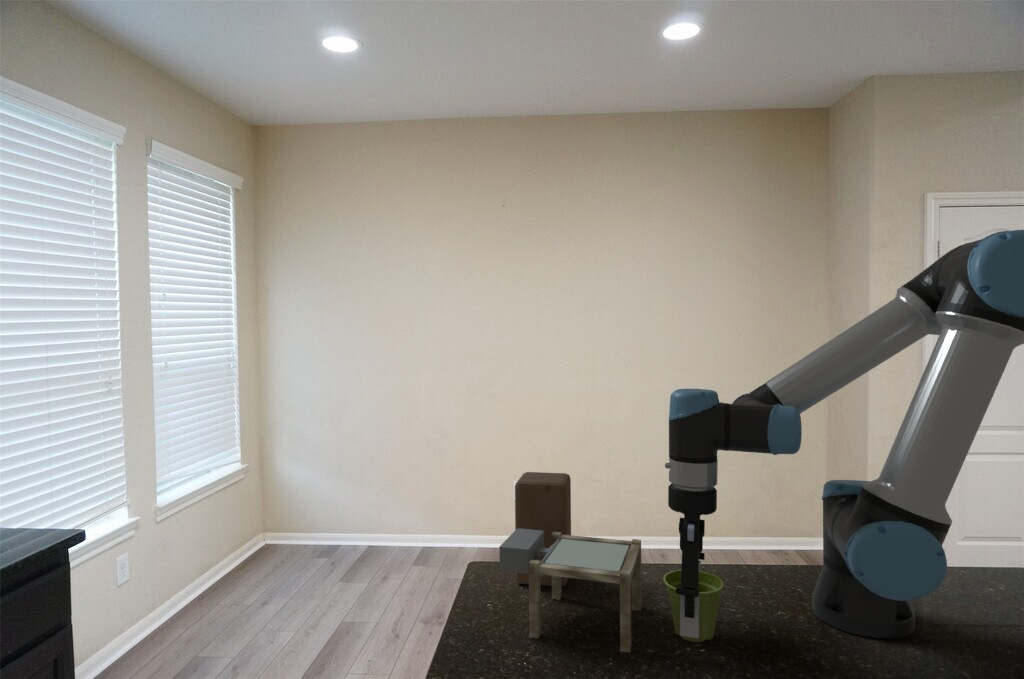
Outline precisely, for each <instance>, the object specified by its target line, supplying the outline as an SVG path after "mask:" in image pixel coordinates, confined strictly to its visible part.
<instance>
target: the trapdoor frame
mask: <svg viewBox="0 0 1024 679" xmlns="http://www.w3.org/2000/svg"><path fill="white" fill-rule="evenodd" d="M557 539H560V540H561V539H569V540H579V541H589V542H599V543H609V544H619V545H629V552H628V555H627V558H626V560H625V563H624V566H623V568H622V570H621V571H620V572H615V571H606V570H597V569H588V568H579V567H570V566H562V565H553V564H544V563H540V562H541V561H542V559H543V558H544V557H542V558H541V560H540V561H539V560H531V561H530V562H529V584H528V613H529V614H528V615H529V616H528V619H529V620H528V621H529V622H528V627H529V628H528V629H529V632H528V634H529V638H532V639H536V640H539V638H540V637H541V635H542V628H541V626H542V625H541V624H542V623H541V622H542V621H541V619H542V616H541V615H542V612H541V611H542V608H541V606H542V604H541V603H542V602H541V585H540V578H541V576H542V575H550V576H552V586H551V600H553V599H556V601H561V600H562V598H561V597H562V596H563V592H562V590H563V589H562V577H567V578H568V579H579V580H584V581H585V580H586V581H593V582H602V583H610V584H612V583H613V584H619V644H620V645H619V646H620V647H619V651H620V652H623V653H628V654H630V653H631V652H632V651H631V650H632V611H639V612H641V610H642V606H643V605H642V604H643V603H642V596H643V595H642V590H643V589H642V540H641V539H636V538H635V539H634V538H633V539H631V540H622V539H612V538H603V537H602V538H601V537H600V538H599V537H592V536H583V535H581V536H580V535H572V534H571V535H562V534H561V532H553V533H552V534H551V546H550V548H551V547H552V546H553V544H554V543H555V542H556V540H557Z"/></svg>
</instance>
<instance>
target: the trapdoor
mask: <svg viewBox="0 0 1024 679" xmlns="http://www.w3.org/2000/svg"><path fill="white" fill-rule="evenodd" d="M628 552H629V545H619V544H609V543H599V542H589V541H579V540H569V539H561V540H560V539H557V540H556V542H555V543H554V544H553V546H552V547H551V548H544V531H541V530H531V529H521V528H517V529H516V530H514V531H513V532H512V533H511V534H510V535H509V536H508V537H507V538H506V539H505V540H504V541H503V542H502V543H501V544H500V545H499V571H501V572H502V571H503V572H509V573H510V572H511V573H516V572H518V573H526V574H528V573H529V562H530V561H531V560H539V559H540V557H541V556H543V557H544V558H543V559H542V561H541V562H540V563H544V564H553V565H562V566H570V567H579V568H588V569H597V570H606V571H615V572H620V571H621V570H622V568H623V566H624V563H625V560H626V558H627V555H628Z"/></svg>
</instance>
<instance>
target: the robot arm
mask: <svg viewBox="0 0 1024 679" xmlns="http://www.w3.org/2000/svg"><path fill="white" fill-rule="evenodd" d="M928 335H932V336H933V335H934V336H938V337H937V340H936V343H935V345H934V347H933V349H932V352H931V353H930V356H929V359H928V362H927V364H926V366H925V368H924V371H923V373H922V375H921V377H920V379H919V382H918V385H917V387H916V390H915V391H914V393H913V397H912V399H911V401H910V403H909V406H908V408H907V411H906V413H905V416H904V417H903V420H902V422H901V423H900V424H901V425H900V427H899V430H898V432H897V434H896V437H895V439H894V442H893V444H892V446H891V448H890V451H889V453H888V455H887V457H886V460H885V463H884V465H883V467H882V470H881V471H880V474H879V476H878V478H877V479H876V478H875V479H873V480H856V479H853V480H852V479H831V480H828V481H826V482H825V483H824V484H823V487H822V488H823V489H822V491H823V492H822V496H821V500H822V543H823V544H822V547H823V548H822V554H823V555H822V556H823V557H822V561H823V562H822V563H823V564H822V568H821V571H820V573H819V576H818V578H817V581H816V584H815V587H814V590H813V592H812V596H811V610H812V612H813V614H814V615H815V616H816V617H817V618H818V619H819V620H821V621H822V622H824V623H825V624H827V625H829V626H831V627H833V628H836V629H837V630H841V631H843V632H846V633H850V634H854V635H857V636H861V637H868V638H874V639H882V640H883V639H901V638H905V637H906V638H907V637H908V636H910V635H913V633H914V632H915V630H916V614H915V611H914V607H913V604H912V602H911V601H913V600H914V601H915V600H917V599H922V598H924V597H927V596H929V595H930V594H932V593H933V592H935V591H936V590H937V589H938V588H939V587H940V586H941V585H942V583H943V581H944V579H945V578H946V575H947V571H948V560H947V557H946V551H945V549H944V547H943V545H944V542H945V539H946V537H947V536H948V533H949V531H950V528H951V525H952V523H953V520H952V518H951V517H950V514H949V513H948V511H947V507H946V504H947V501H948V499H949V497H950V495H951V492H952V490H953V488H954V485H955V483H956V481H957V479H958V476H959V474H960V472H961V469H962V467H963V465H964V462H965V460H966V458H967V456H968V453H969V451H970V449H971V447H972V445H973V442H974V440H975V438H976V436H977V433H978V431H979V428H980V427H981V424H982V422H983V420H984V417H985V414H986V412H987V410H988V408H989V406H990V404H991V402H992V399H993V397H994V394H995V393H996V391H997V388H998V385H999V384H1000V380H1001V379H1002V376H1003V374H1004V372H1005V370H1006V367H1007V364H1008V363H1009V361H1010V357H1011V356H1012V354H1013V352H1014V350H1015V349H1016V348H1017V347H1020V346H1022V345H1024V229H1014V230H1004V231H1003V230H1002V231H997V232H994V233H991V234H989V235H987V236H985V237H983V238H981V239H978V240H974V241H971V242H967V243H964V244H961V245H959V246H956V247H954V248H952V249H951V250H949V251H948V252H945V253H944V254H943V255H942V256H941V257H939V258H937V260H935V261H934V262H932V263H931V264H930V265H929V266H928V267H927V268H925V269H924V270H923V271H921V272H920V273H919V274H917V275H915V277H913V278H912V279H910V280H908V282H906V283H904V284H902V286H899V288H897V289H896V294H895V298H893V299H892V300H890V301H888V302H887V303H886V304H884V305H882V306H881V307H879V308H878V309H876V310H875V311H873V312H872V313H870V314H868V315H867V316H866V317H864V318H862V319H861V320H859V321H858V322H856V323H855V324H854V325H852V326H850V327H849V328H847V329H846V330H844V331H843V332H841V333H839V334H837V335H836V336H835V337H833V338H832V339H830V340H828V341H827V342H826V343H824V344H823V345H821V346H819V347H818V348H817V349H814V350H813V351H811V352H810V353H809V354H807V355H805V356H804V357H802V358H801V359H799V360H798V361H797V362H795V363H793V364H792V365H790V366H789V367H787V368H785V369H784V370H783V371H781V372H779V373H778V374H776V375H774V376H773V377H772V378H770V379H768V380H767V381H765V383H763V384H762V385H761V384H760V385H759V386H758V387H756V388H755V389H753V390H752V391H750V392H749V393H744V394H741V395H740V396H738V397H736V398H735V399H734V400H733V401H732V402H731V403H727V402H721V401H720V399H719V394H718V392H717V391H716V390H713V389H706V388H705V389H702V388H678V389H675V390H674V391H673V392H672V393H671V394H670V397H669V409H668V410H669V412H668V457H669V458H668V461H669V462H665V464H664V468H665V469H668V470H669V471H668V481H669V482H670V484H669V486H668V492H667V494H668V495H667V498H668V499H667V501H668V502H667V504H668V507H669V508H670V509H671V510H672V511H674V512H676V513H680V514H682V515H684V516H683V517H679V521H678V533H679V549H680V550H681V569H680V570H681V588H680V589H679V588H676V594H680V635H679V637H681V636H686V637H692V638H698V639H699V590H698V579H699V571H702V570H701V569H702V568H701V567H702V566H701V565H702V561H705V554H706V553H704V552H703V547H704V543H703V541H704V540H703V539H704V537H705V534H706V533H705V530H706V528H705V526H706V525H705V524H706V522H705V519H701V516H702V515H703V516H704V515H705V516H708V515H713V514H714V513H715V512H716V511H717V508H718V506H717V504H718V490H717V488H715V487H716V486H717V485H718V474H719V473H718V470H719V469H718V464H719V463H718V461H719V460H718V451H725V452H729V451H730V452H742V453H743V452H744V453H745V452H746V453H754V454H755V453H757V454H768V455H771V454H772V455H773V456H777V455H795V454H797V453H798V452H799V451H800V448H801V447H802V446H801V444H802V436H803V434H802V430H803V428H802V418H801V414H802V413H804V412H806V411H807V410H809V409H810V408H812V407H813V406H815V405H817V404H818V403H820V402H822V401H824V399H827V398H828V397H829V396H831V395H833V394H834V393H836V392H837V391H839V390H841V389H842V388H844V387H845V386H847V385H848V384H851V383H852V382H854V381H855V380H857V379H859V378H861V377H862V376H864V375H865V374H866V373H869V372H870V371H871V370H873V369H875V368H876V367H877V366H879V365H881V364H883V363H884V362H886V361H888V360H889V359H890V358H892V357H894V356H896V355H897V354H899V353H900V352H902V351H903V350H906V349H907V348H909V347H910V346H911V345H913V344H915V343H916V342H919V340H921V339H922V338H925V337H926V336H928ZM701 560H702V561H701ZM686 586H692V587H686Z"/></svg>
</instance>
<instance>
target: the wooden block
mask: <svg viewBox="0 0 1024 679" xmlns="http://www.w3.org/2000/svg"><path fill="white" fill-rule="evenodd" d="M571 479H572V478H571V476H570V475H569V474H568V473H563V472H562V473H561V472H542V471H541V472H540V471H539V472H537V471H536V472H535V471H534V472H533V471H526V472H524V473H523V474H521V475H520V478H519V479H518V480H517V481H516V482H515V485H514V512H515V513H514V518H515V519H514V520H515V522H514V523H515V524H514V525H515V528H514V529H515V530H516V529H517V528H521V529H531V530H541V531H544V548H550V546H551V534H552V533H553V532H561V534H562V535H572V507H571V506H572V504H571V503H572V498H571V495H572V494H571V491H572V490H571V485H572V484H571V483H572V482H571ZM515 530H514V531H515ZM542 557H543V556H541V557H540V559H539V561H540V560H541V558H542ZM515 580H516V582H517V583H518V584H520V585H522V584H523V585H529V573H528V574H526V573H518V572H515ZM568 580H569V578H567V577H562V586H563V587H566V585H567V583H568ZM540 586H545V587H546V586H547V587H552V576H550V575H542V576H541V578H540Z"/></svg>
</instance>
